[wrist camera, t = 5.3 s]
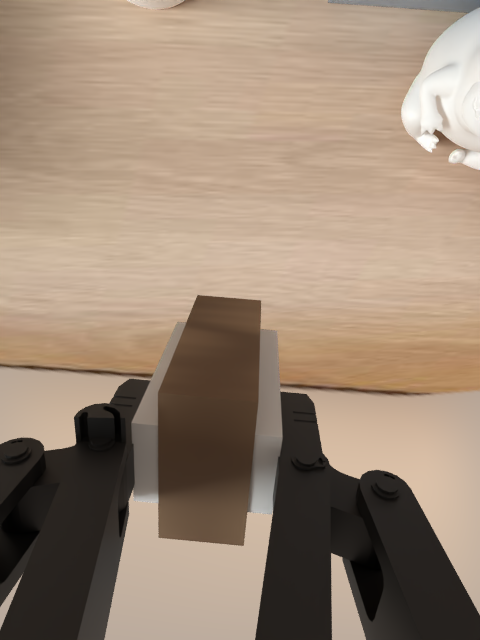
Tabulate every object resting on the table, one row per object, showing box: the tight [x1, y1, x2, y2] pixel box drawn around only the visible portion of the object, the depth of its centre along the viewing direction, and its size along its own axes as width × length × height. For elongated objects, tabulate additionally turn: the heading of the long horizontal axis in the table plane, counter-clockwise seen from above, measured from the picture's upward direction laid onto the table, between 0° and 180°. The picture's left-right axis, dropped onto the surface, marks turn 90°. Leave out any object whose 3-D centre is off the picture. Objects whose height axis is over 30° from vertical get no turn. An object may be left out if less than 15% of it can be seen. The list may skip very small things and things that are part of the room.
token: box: [158, 295, 261, 546], centre depth 15 cm, size 2×5×7 cm, turn 176°
